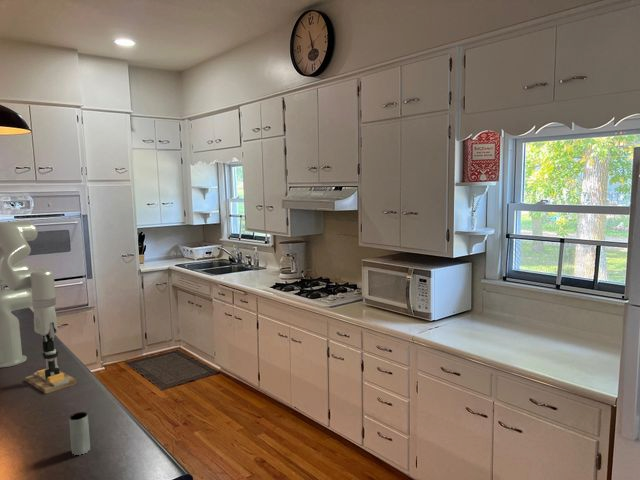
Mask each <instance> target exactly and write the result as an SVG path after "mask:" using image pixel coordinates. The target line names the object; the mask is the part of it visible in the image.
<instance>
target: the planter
mask: <svg viewBox="0 0 640 480" xmlns="http://www.w3.org/2000/svg"><path fill="white" fill-rule="evenodd" d="M68 423H69V435H70V445H71V454H72V455H73V454H74V455H73V456H75V455H79V456H82V455H81V454H83V455H85V453H86V454H88V453H89V452H90V451H91V441H90V430H89V429H90V427H89V414H88V413H87V412H84V411H79V412H76V413H73V414H71V415H69V418H68ZM89 450H90V451H89ZM88 451H89V452H88Z"/></svg>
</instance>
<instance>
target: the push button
mask: <svg viewBox="0 0 640 480" xmlns="http://www.w3.org/2000/svg"><path fill="white" fill-rule="evenodd" d="M59 354H60V352H59V350H57V349H56V348H54V350H53V351H50V352H43V353H42V354H41V355H42V357H43V359H45V369H46V370H45V373H43V374H45V375H44V376H40V377H46V378H48V377H50V376H53V375H57V374H60V373H59V371H60V368H59V366H58V360H57V357H59ZM48 368H49V369H48ZM43 374H40V375H43Z"/></svg>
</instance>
